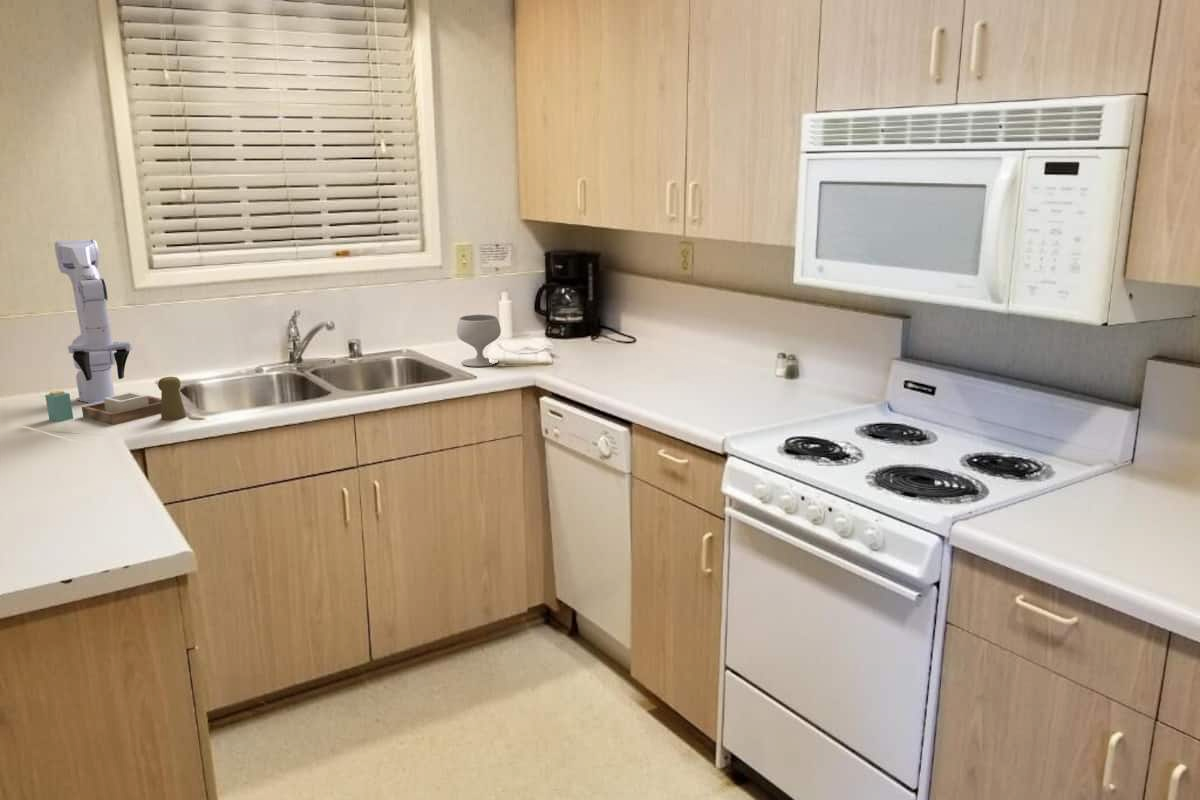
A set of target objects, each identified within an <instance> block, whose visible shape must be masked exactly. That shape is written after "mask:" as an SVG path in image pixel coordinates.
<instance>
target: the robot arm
mask: <svg viewBox="0 0 1200 800" xmlns="http://www.w3.org/2000/svg"><path fill="white" fill-rule="evenodd" d="M54 250H55V256H56V261H57V265H58V269H59V272H60V273H61V274H65V275H68V277H69V279H70V282H71V285H72V286H71V287H72V291H73V297H74V302H75V306H76V307H75V309H76V313H77V319H78V324H79V325H78V326H79V330H80V334H79V335H78V336H77V337H76V338H74V339H73V340H72V342H71V344H69V345H67V348H68V349H67V350H68V354H72V358H73V365H74V367H75V369H77V370H78V371H77V373H76V376H75V378H76V379H75V380H76V385H77V392H78V397H77V398H76V399H75V400H77V401H79V400H80V401H79V402H83V401H84V403H87V402H88V404H92V405H94V404H98V403H102V402H104V398H107V397H111V396H116V395H117V394H115V390H114V383H113V375H112V366H114V365H116V370H117V377H118V380H122V379H124V378H125V367H126V362H127V360H128V356H129V354H130V352H131V351H132V350H133V342H132V341H113V338H112V337H113V336H112V330H111V325H110V324H111V323H110V318H109V309H108V303H107V302H108V300H109V299H108V298H109V294H108V293H109V292H108V287H107V284H106V283H107V282H106V281H105V279H104V278H103V277H101V274H100V272H99V270H98V267H99V260H100V254H99V247H98V243H97V240H95V239H94V238H91V239H79V240H57V241H56V242H55V243H54Z"/></svg>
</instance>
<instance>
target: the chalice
mask: <svg viewBox="0 0 1200 800" xmlns="http://www.w3.org/2000/svg"><path fill="white" fill-rule="evenodd" d="M501 333H502V329H501V324H500V322H499V319H498V318H497V316H495V315H491V314H470V315H464V316H461V317H459V320H458V321H457V326H456V334H457V337H458V338H459V340H461V342H464V343H465V344H468V345H469V346H471V347H473V348H474V349H475V350H476V357H473V358H468V359H464V360H462V361H461V365H462V366H466V367H473V368H475V367H489V366H494V365H493V364H492V363H490V362H489V359H488V358H489V357H485V356H484V354H483V353H484V350H485V349H486V347H487V346H489V345H490V344H492V343H493V342H495V341H496V340H497V339H499V338H500V336H501Z"/></svg>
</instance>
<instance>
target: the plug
mask: <svg viewBox="0 0 1200 800" xmlns="http://www.w3.org/2000/svg"><path fill="white" fill-rule="evenodd" d="M44 396H45V403H46V408H47V414H48V419H49V421H52V422H56V423H59V422H64V421H68V420H73V419H74V415H73V409H72V403H71V401H72V400H71V397H70V393H69V392H65V391H64V390H55V391H50V392H49V393H47V394H45V395H44Z"/></svg>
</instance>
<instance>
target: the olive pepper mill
mask: <svg viewBox="0 0 1200 800" xmlns="http://www.w3.org/2000/svg"><path fill="white" fill-rule="evenodd" d="M157 383H158V384H157V386H158V389H159V391H161V392H160V393H161V397H160V398H161V413H160V418H161V420H162V421H166V422H171V421H178V420H183V419H185V418H186V417H187V414H186V409H185V405H184V403H183V400H182V399H183V398H182V396H181V391H180V388H181V380H180V378H178V377H176V376H165V377H162V378H160V379H159V380H158V382H157Z"/></svg>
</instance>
